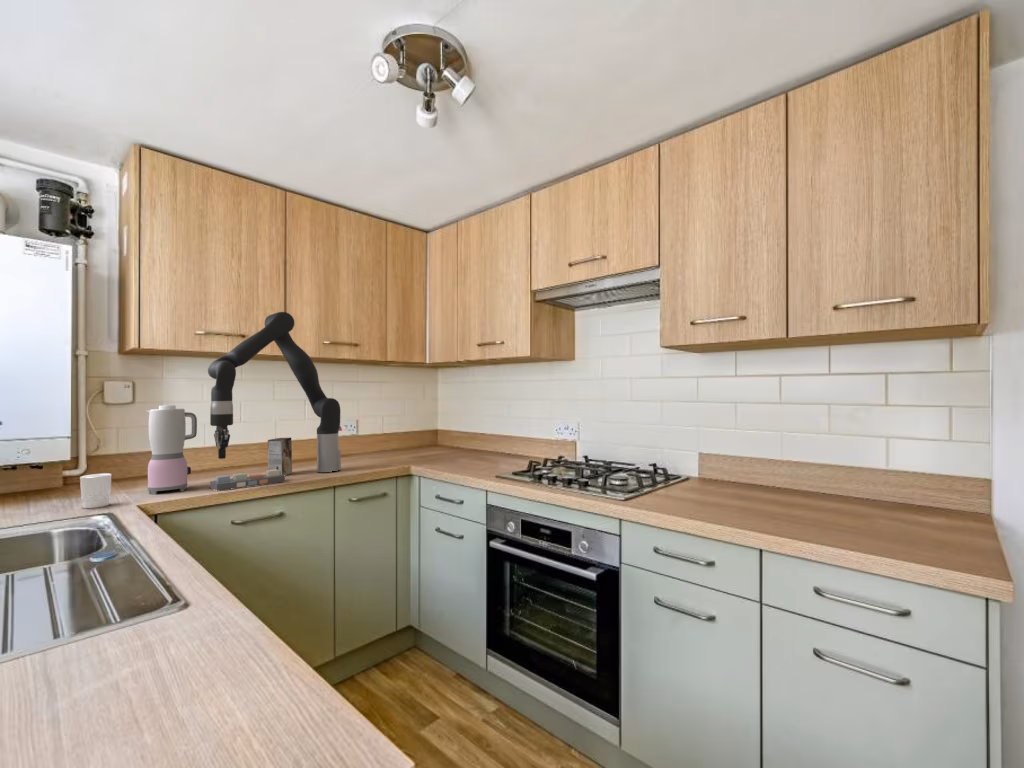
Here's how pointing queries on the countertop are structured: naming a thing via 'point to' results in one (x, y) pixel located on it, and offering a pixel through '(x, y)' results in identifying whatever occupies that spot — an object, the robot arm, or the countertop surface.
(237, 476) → the sage key
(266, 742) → the countertop surface
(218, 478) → the slate key
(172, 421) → the blender
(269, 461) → the coffee box
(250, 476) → the terracotta key
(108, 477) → the white cup
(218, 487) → the keypad
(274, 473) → the sand key
